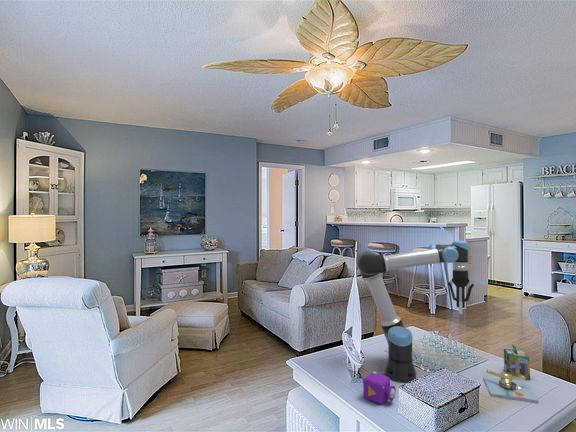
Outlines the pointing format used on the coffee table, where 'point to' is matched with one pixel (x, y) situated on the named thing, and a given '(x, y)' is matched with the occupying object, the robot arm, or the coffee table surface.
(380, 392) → the toy camera
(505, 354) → the chalk box
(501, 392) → the board
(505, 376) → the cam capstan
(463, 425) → the coffee table surface
